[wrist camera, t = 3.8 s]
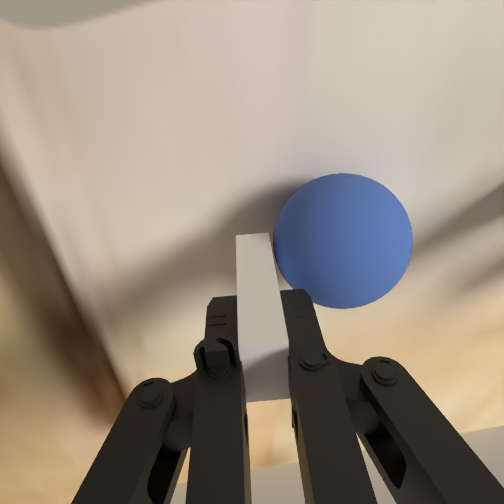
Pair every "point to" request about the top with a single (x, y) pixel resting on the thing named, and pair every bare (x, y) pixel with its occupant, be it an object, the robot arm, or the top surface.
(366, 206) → the ball
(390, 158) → the top surface
